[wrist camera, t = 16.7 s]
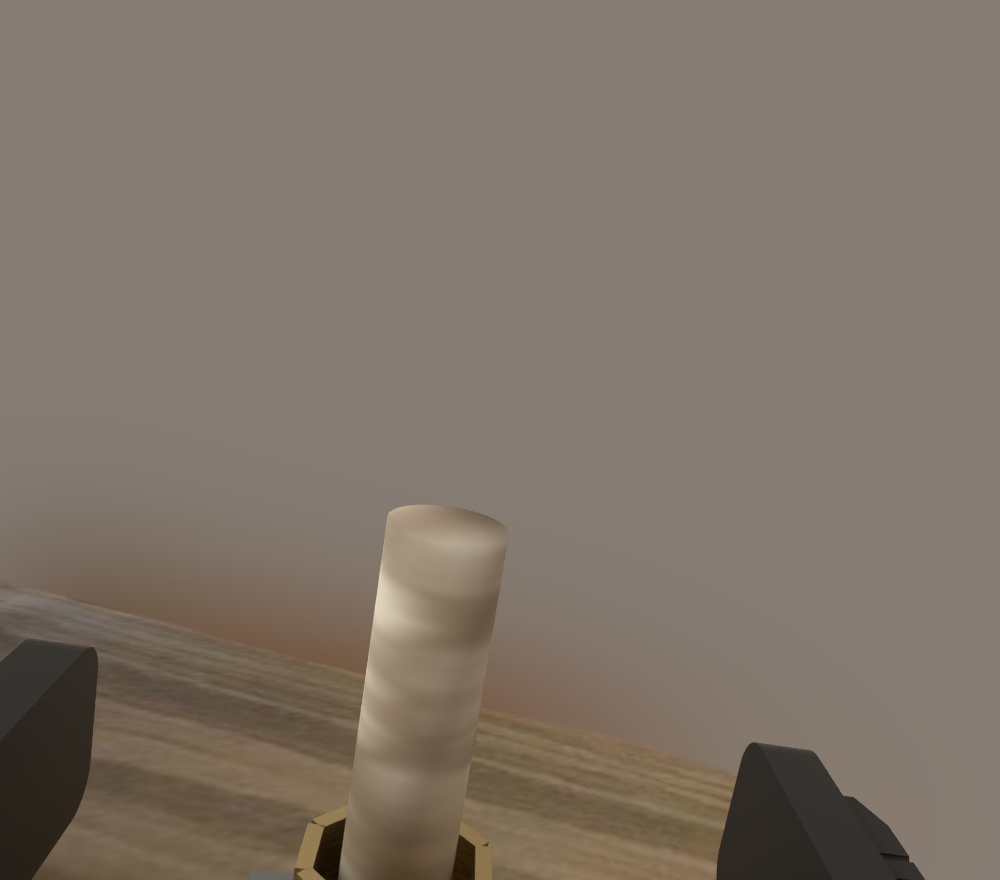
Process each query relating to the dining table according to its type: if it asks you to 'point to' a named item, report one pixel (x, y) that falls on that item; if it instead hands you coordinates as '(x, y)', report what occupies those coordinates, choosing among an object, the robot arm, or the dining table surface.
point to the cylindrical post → (422, 692)
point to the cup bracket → (324, 851)
